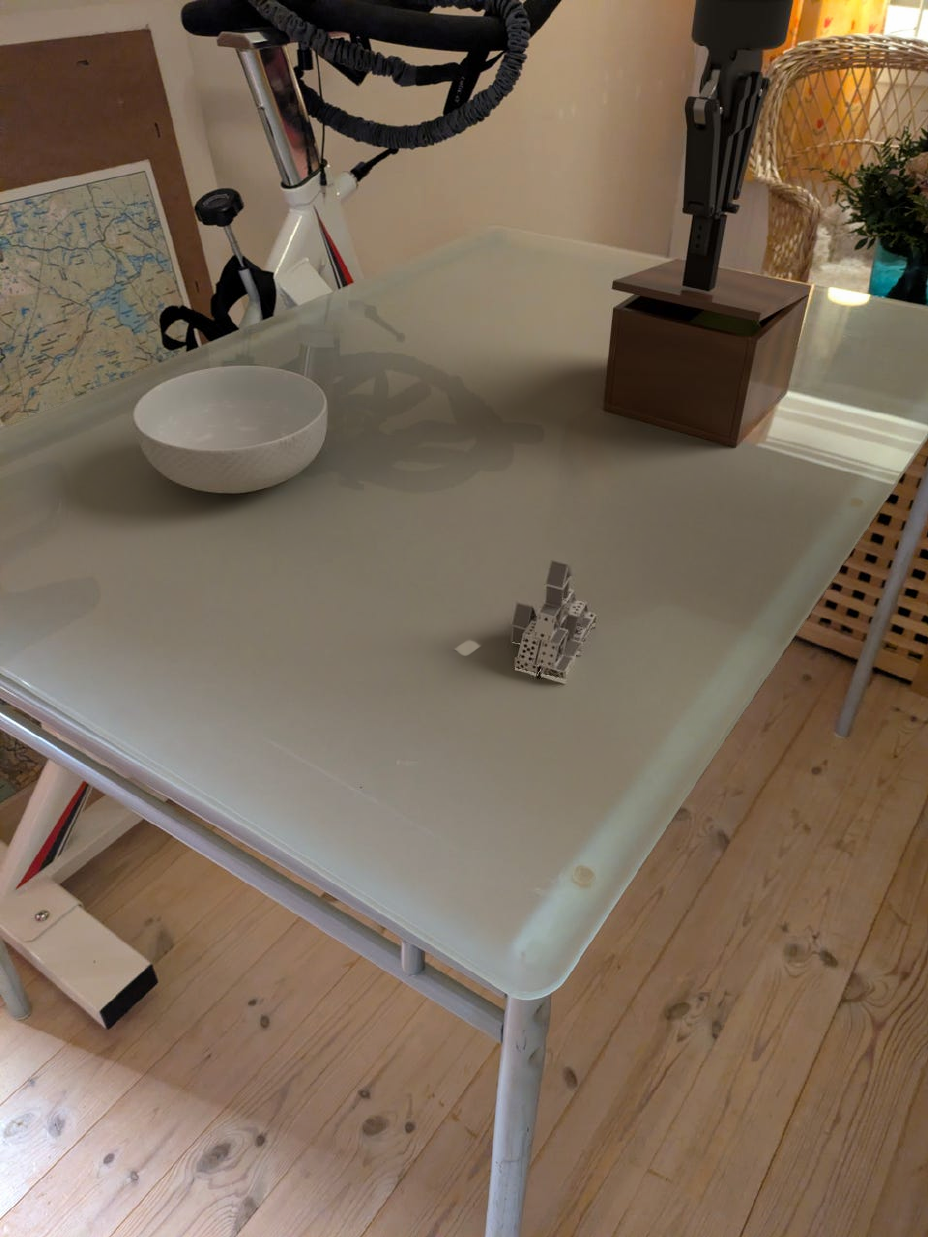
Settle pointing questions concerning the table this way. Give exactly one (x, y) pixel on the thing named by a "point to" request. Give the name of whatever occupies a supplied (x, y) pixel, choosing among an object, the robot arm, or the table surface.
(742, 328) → the plant pot
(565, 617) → the house of cards
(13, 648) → the table surface
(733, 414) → the chest
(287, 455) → the cereal bowl
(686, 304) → the chest lid
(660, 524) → the table surface
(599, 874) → the table surface
